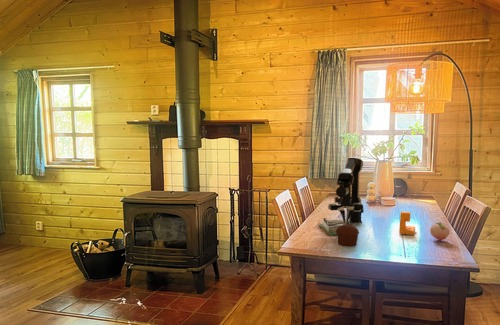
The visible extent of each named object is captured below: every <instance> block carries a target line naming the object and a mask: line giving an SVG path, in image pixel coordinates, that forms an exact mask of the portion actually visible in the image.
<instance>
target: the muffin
mask: <svg viewBox="0 0 500 325" xmlns="http://www.w3.org/2000/svg"><path fill="white" fill-rule="evenodd" d="M336 233H337V236H336V238H337V244H338V245H339V246H342V247H344V248H345V247H347V248H351V247H352V248H353V247H356V246H357V243H358V238H359V237H358V236H359V234H360V231H359V229H358V228H357V227H356V226H355V225H353V224H352V225H350V224H344V225H341V226H339V227H338V228H337V229H336Z"/></svg>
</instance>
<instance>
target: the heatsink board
mask: <svg viewBox="0 0 500 325" xmlns="http://www.w3.org/2000/svg"><path fill="white" fill-rule="evenodd" d="M340 221H343V220H341V219H326V217H324V218H323V220H321V223H318V226H319V227H320V228H321V229H322V230H323V231H324V232H325V233H326V235H328V236H329V237H335V236H336V237H337V233H336V229H337V228H338V227H339V226H341V225H344V224H350V225H353V223H352V222H351V221H350V222H348V223H343V224H337V225H332V226H328V225H327V223H334V222H340Z"/></svg>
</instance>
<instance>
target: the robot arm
mask: <svg viewBox="0 0 500 325" xmlns="http://www.w3.org/2000/svg"><path fill="white" fill-rule="evenodd" d="M363 166H364V161H363V159H360V158H358V157H355V156H349V157H348V159H347V162H346V165H345V167H344V169H342V170H341V171H340V172H339V174H338V176H337V181H336V185H337V186H338V187H337V188H336V189H335V195H336V196H335V197H334V203H329V204H328V206H327V208H328V210H330V211H338V212H339V213H340V215H341V217H342V218H341V219H343V221H344V222H345V219H346V221H348V220H349V221H350V223H352V224H355V223H363V221H362V214H364V209H365V208H364V205H363V202H362V199H361V197H360V173H361V171H363Z"/></svg>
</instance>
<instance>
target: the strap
mask: <svg viewBox="0 0 500 325" xmlns="http://www.w3.org/2000/svg"><path fill="white" fill-rule="evenodd" d="M348 222H350V223H351V221H349V220H348V221H346V220H345V222H344V221H340V222H334V223H327V225H328V226H332V225H337V224H343V223H348Z"/></svg>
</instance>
